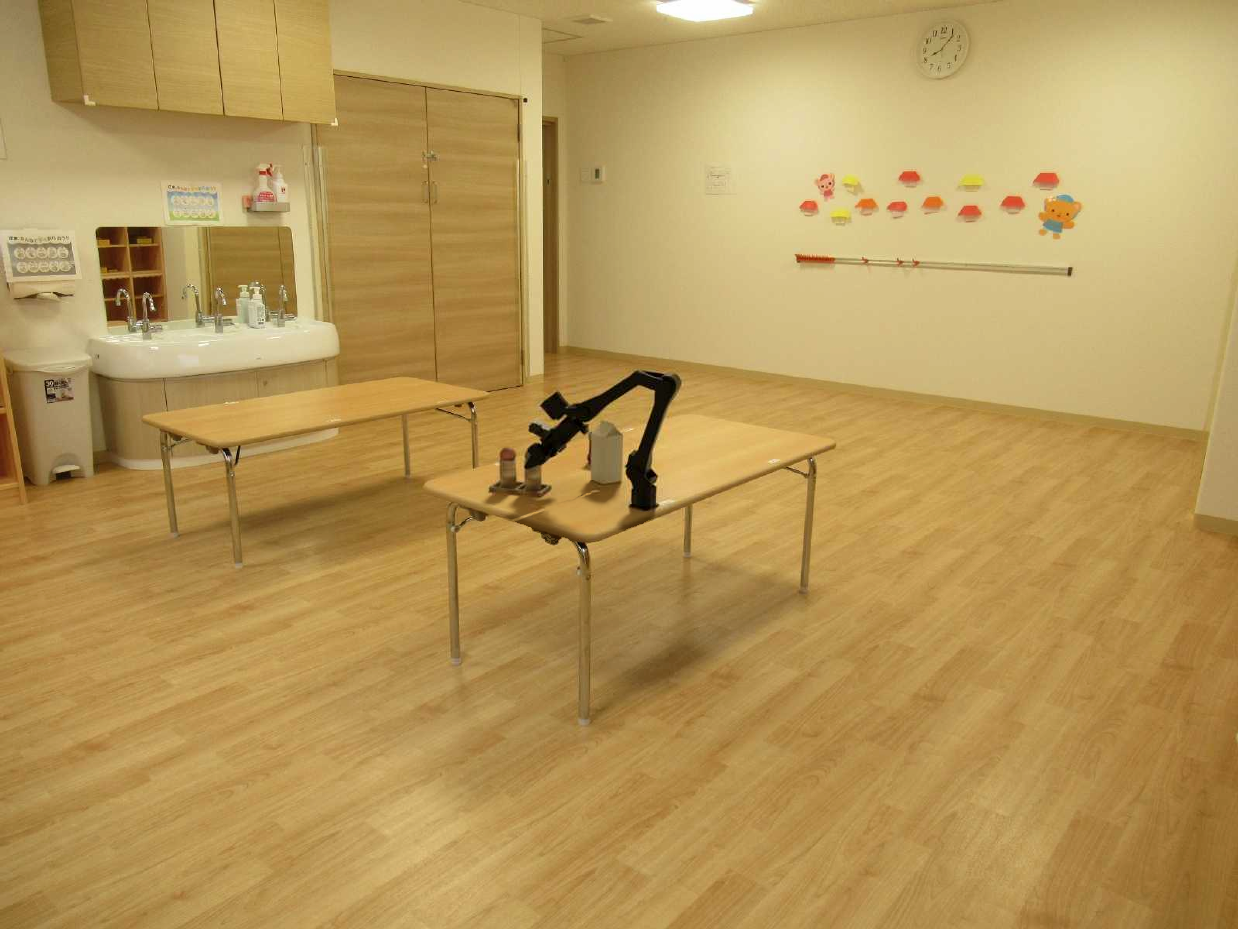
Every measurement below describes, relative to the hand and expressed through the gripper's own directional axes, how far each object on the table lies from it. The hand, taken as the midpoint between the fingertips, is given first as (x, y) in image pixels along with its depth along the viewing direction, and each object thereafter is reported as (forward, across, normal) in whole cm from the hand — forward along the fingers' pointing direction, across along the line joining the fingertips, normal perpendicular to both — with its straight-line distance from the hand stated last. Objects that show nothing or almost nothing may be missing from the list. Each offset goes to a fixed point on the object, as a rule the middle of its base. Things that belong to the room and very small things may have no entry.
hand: (528, 465), depth 265 cm
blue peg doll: (+4, 0, +6) cm, 7 cm away
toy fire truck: (-1, -41, +14) cm, 43 cm away
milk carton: (-6, -21, +19) cm, 29 cm away
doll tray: (+8, 0, +4) cm, 9 cm away
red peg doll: (+10, 0, +1) cm, 10 cm away
